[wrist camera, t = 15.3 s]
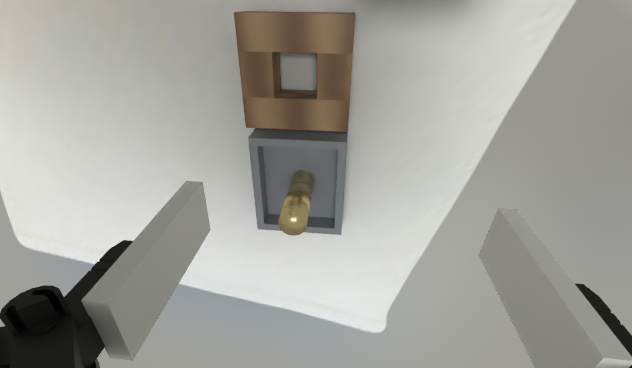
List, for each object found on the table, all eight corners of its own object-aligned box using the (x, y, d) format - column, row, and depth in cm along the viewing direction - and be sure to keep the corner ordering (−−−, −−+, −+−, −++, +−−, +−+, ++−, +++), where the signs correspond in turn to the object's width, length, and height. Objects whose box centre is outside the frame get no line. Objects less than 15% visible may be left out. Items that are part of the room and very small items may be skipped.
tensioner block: (254, 116, 41) (246, 127, 38) (245, 11, 35) (233, 12, 32) (347, 120, 40) (347, 131, 37) (354, 12, 34) (354, 14, 31)
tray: (263, 214, 49) (257, 229, 46) (255, 128, 42) (248, 137, 39) (341, 220, 48) (341, 234, 45) (347, 131, 41) (346, 142, 38)
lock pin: (292, 190, 45) (279, 234, 36) (291, 170, 43) (277, 211, 35) (315, 190, 45) (307, 235, 36) (314, 170, 43) (306, 212, 34)
